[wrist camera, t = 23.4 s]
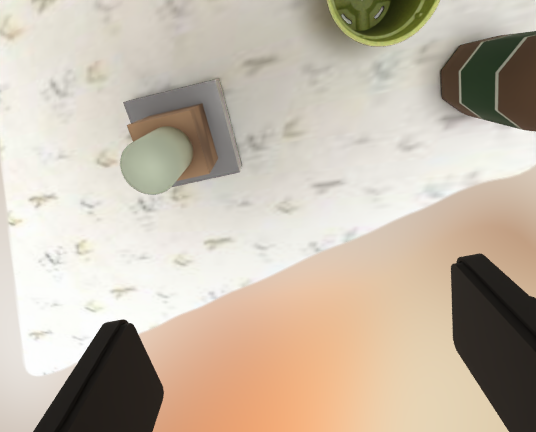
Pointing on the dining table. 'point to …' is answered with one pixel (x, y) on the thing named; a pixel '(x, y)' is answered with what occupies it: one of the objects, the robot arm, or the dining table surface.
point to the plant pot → (381, 19)
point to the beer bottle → (494, 80)
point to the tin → (156, 160)
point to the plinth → (215, 115)
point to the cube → (194, 128)
